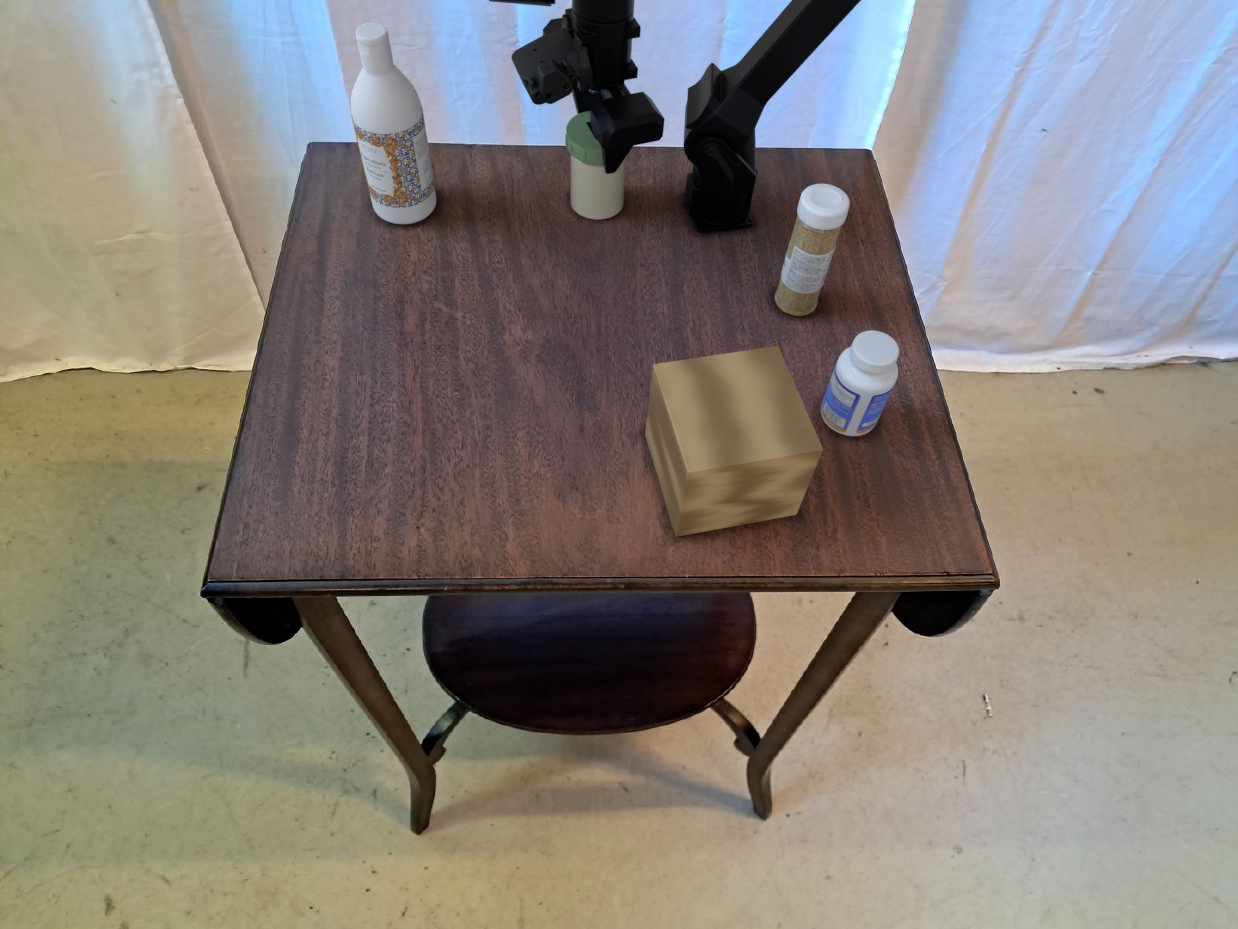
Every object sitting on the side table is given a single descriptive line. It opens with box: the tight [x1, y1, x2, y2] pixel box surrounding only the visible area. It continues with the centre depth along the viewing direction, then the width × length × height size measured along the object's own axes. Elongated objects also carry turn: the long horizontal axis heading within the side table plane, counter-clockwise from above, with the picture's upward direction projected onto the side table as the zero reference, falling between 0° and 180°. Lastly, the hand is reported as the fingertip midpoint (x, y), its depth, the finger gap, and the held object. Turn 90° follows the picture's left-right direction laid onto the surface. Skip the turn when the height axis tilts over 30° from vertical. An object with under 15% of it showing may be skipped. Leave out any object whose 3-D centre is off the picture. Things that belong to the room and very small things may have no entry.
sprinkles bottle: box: [774, 183, 851, 317], centre depth 86 cm, size 5×5×14 cm
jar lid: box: [564, 111, 630, 165], centre depth 92 cm, size 7×7×2 cm
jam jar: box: [569, 153, 628, 220], centre depth 95 cm, size 6×6×9 cm
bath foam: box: [350, 22, 437, 225], centre depth 89 cm, size 7×7×20 cm
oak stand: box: [644, 345, 824, 537], centre depth 75 cm, size 11×11×10 cm
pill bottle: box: [820, 329, 900, 437], centre depth 79 cm, size 5×5×10 cm
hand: (598, 152), depth 94 cm, fingers closed on jar lid, 7 cm apart
